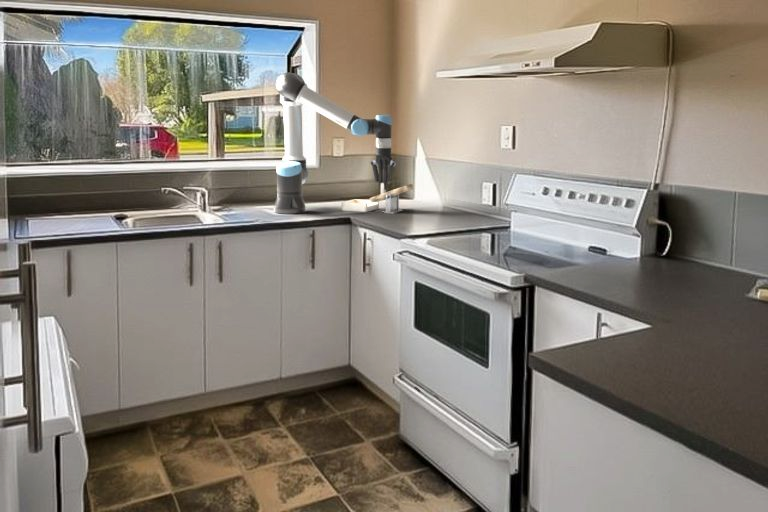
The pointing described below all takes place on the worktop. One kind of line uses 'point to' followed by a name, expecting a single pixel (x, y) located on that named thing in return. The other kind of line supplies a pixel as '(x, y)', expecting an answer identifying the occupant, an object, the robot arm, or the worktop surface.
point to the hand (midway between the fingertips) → (383, 196)
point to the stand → (392, 204)
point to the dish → (359, 205)
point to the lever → (393, 193)
